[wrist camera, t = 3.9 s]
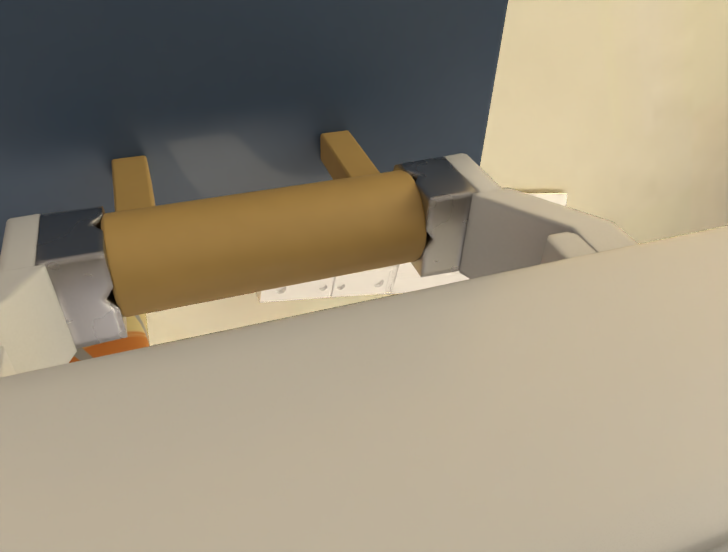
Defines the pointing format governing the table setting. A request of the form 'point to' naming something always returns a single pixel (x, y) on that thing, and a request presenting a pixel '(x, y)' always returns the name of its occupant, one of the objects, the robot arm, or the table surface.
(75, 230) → the robot arm
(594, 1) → the table surface
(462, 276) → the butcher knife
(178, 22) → the lid
